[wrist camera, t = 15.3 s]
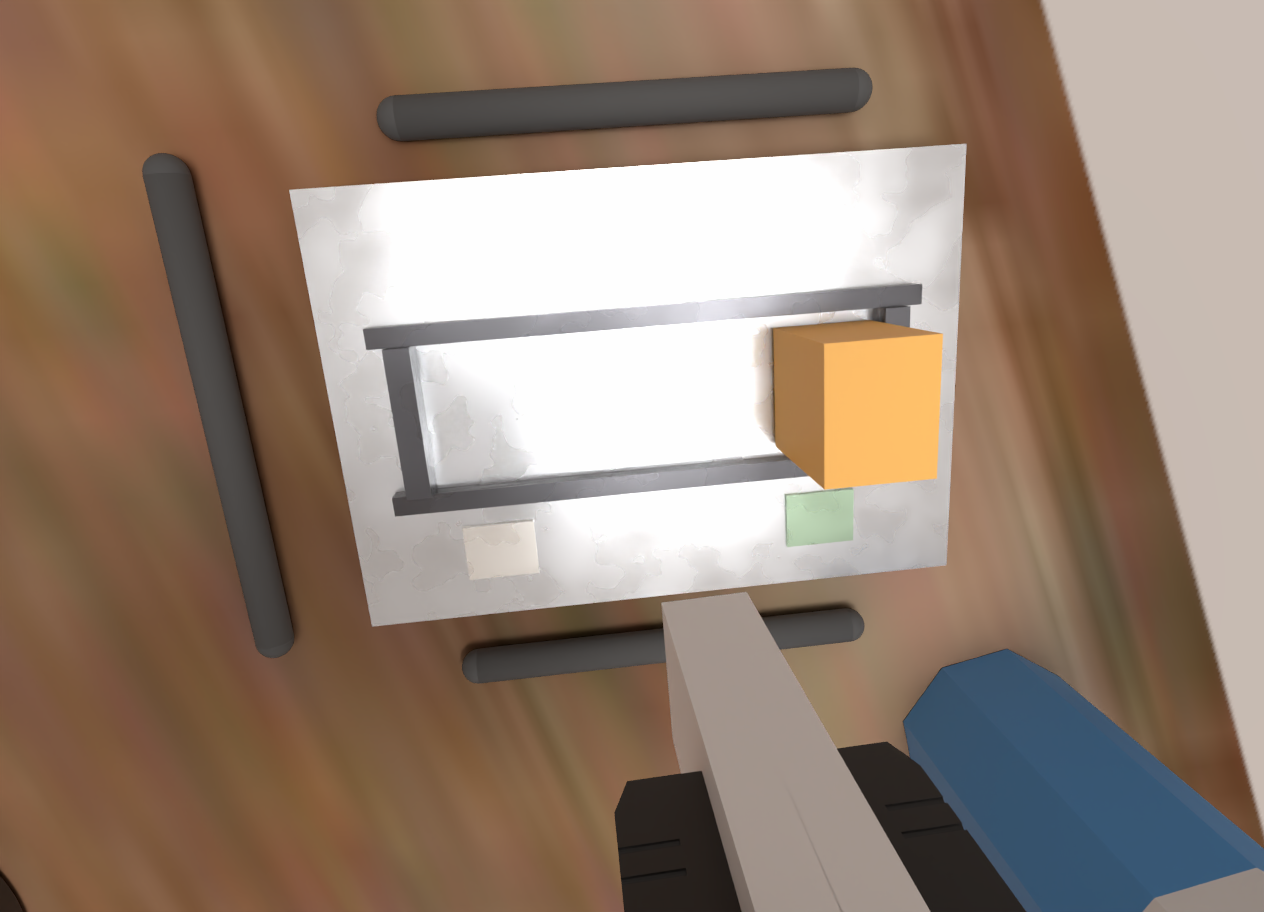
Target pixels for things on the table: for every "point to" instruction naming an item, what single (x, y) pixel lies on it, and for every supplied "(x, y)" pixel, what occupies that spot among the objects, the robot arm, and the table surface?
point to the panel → (617, 373)
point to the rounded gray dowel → (218, 397)
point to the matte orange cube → (858, 401)
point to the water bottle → (1073, 798)
